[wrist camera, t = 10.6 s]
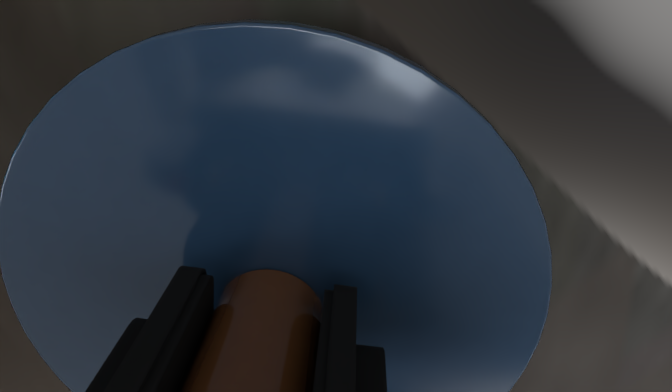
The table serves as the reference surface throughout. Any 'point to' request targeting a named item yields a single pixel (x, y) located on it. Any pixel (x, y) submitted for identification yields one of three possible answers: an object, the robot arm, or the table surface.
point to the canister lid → (275, 212)
